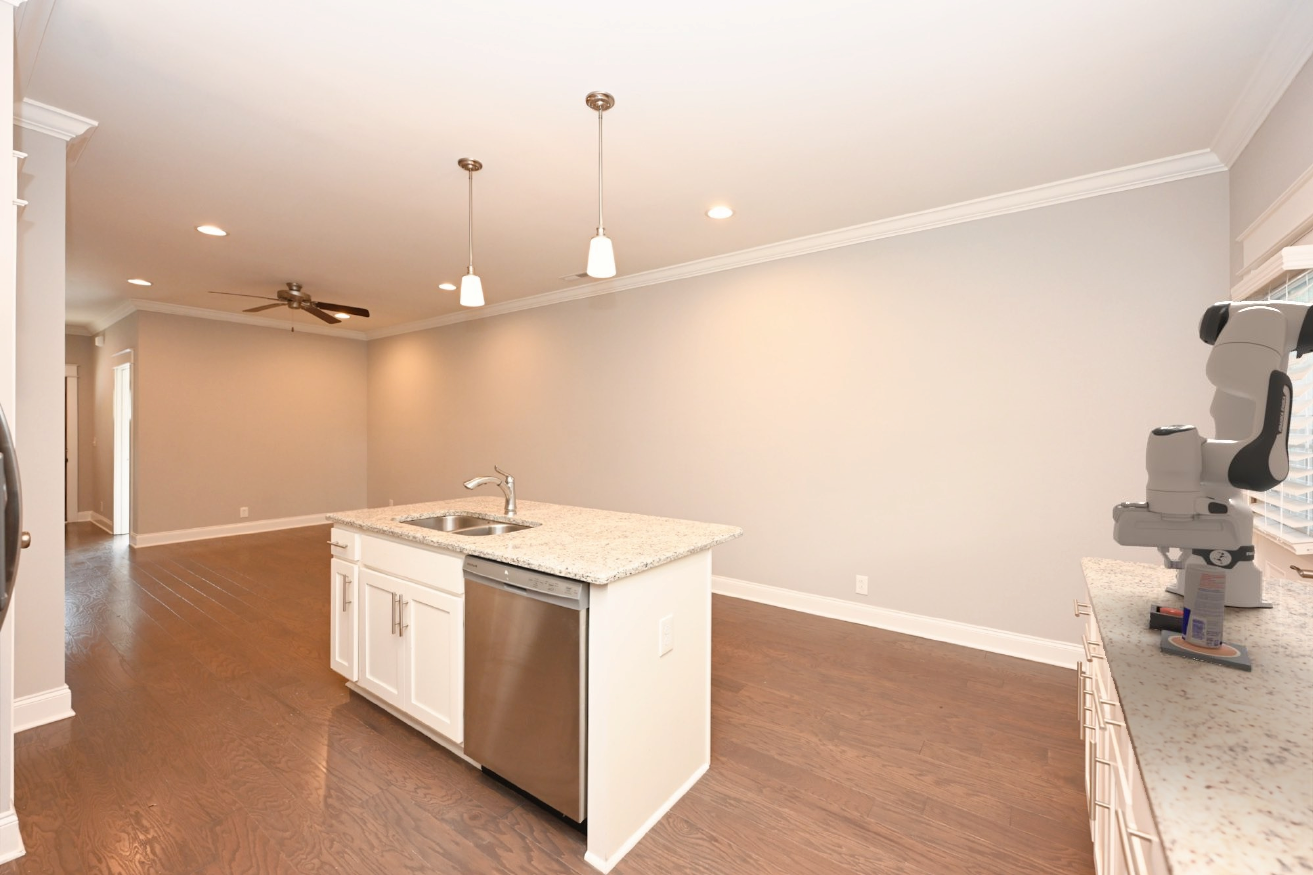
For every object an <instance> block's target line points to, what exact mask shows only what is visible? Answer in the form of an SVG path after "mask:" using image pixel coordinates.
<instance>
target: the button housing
mask: <svg viewBox="0 0 1313 875" xmlns="http://www.w3.org/2000/svg"><path fill="white" fill-rule="evenodd" d="M1163 607H1165V608H1171V607H1170V606H1165V605H1164V606H1163V605H1157V604H1153V603H1152V604H1151V605H1150V611H1149V629H1151V630H1154V629H1157V630H1156V631H1159V630H1160V631H1159V632H1162V630H1167V631H1172V632H1177V633H1182V626H1183V617H1181V616H1175V615H1169V614H1164V613H1160V608H1163ZM1173 608H1174V609H1178V610H1181V611H1183V608H1175V607H1173Z"/></svg>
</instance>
